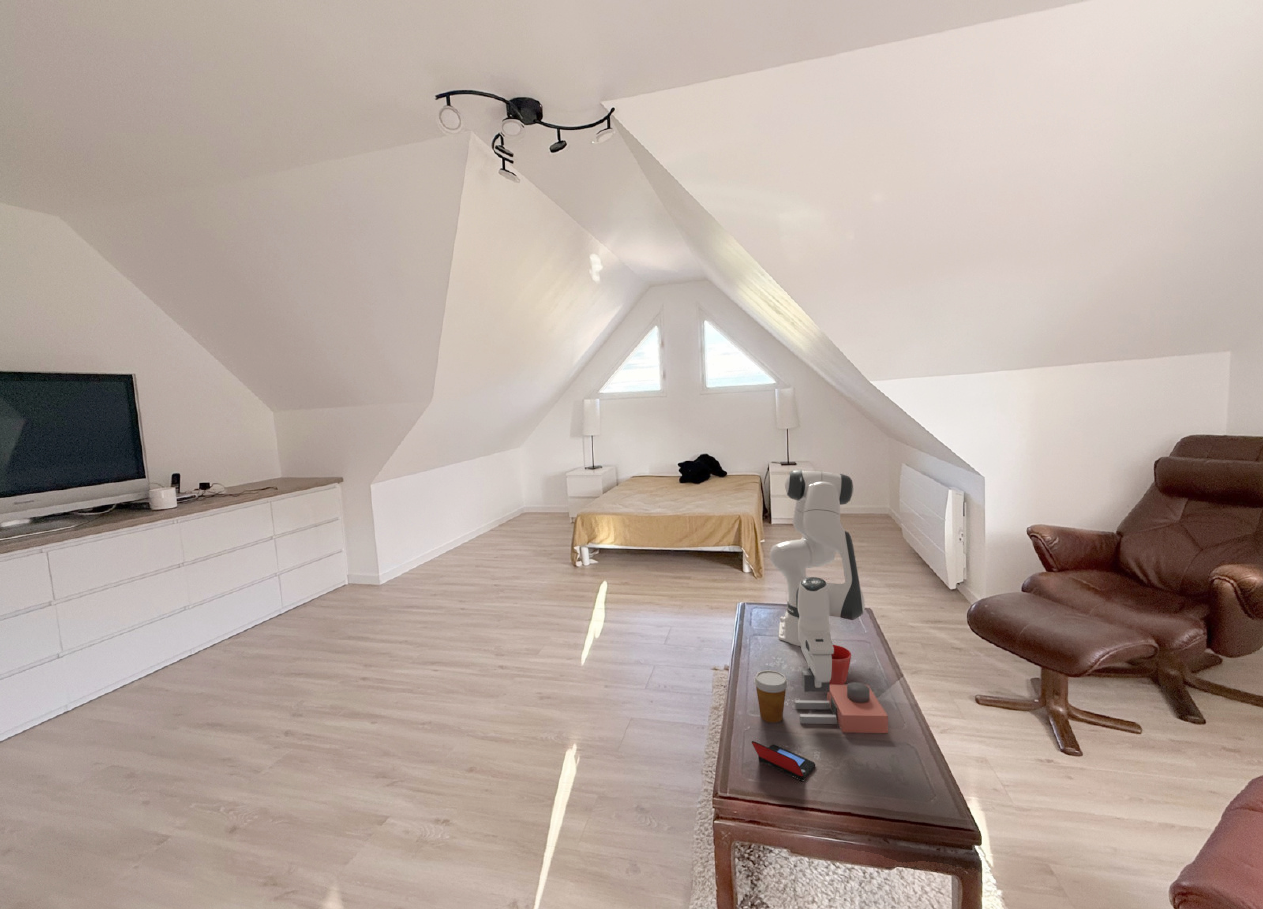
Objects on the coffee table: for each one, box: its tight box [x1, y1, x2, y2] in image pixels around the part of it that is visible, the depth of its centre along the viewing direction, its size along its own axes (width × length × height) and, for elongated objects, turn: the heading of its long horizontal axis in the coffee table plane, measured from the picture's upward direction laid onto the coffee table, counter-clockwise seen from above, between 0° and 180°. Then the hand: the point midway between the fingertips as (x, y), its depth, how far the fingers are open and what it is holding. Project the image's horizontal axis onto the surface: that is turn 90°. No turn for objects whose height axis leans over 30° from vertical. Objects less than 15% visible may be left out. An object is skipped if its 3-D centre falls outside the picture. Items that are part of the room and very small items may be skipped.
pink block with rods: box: [794, 681, 889, 734], centre depth 155 cm, size 16×22×8 cm
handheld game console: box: [751, 740, 816, 781], centre depth 135 cm, size 12×11×7 cm
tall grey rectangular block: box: [800, 667, 830, 693], centre depth 155 cm, size 4×7×5 cm, turn 85°
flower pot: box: [830, 644, 852, 685], centre depth 174 cm, size 11×11×10 cm
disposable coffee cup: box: [753, 669, 789, 724], centre depth 156 cm, size 10×10×12 cm
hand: (815, 681), depth 155 cm, fingers closed on tall grey rectangular block, 4 cm apart
